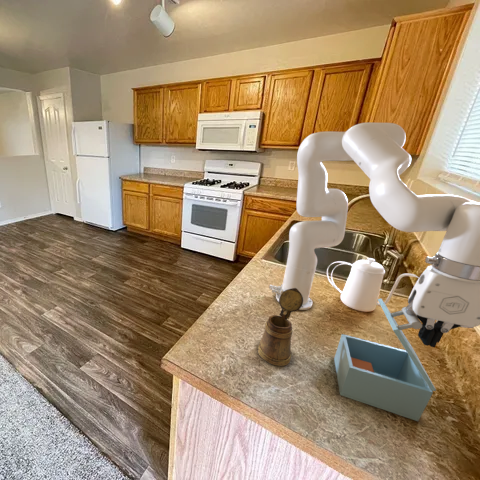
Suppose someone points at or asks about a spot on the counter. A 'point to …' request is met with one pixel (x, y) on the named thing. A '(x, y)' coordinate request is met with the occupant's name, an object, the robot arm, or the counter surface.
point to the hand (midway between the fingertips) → (426, 341)
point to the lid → (398, 329)
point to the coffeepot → (364, 285)
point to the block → (362, 364)
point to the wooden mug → (280, 330)
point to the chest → (381, 377)
